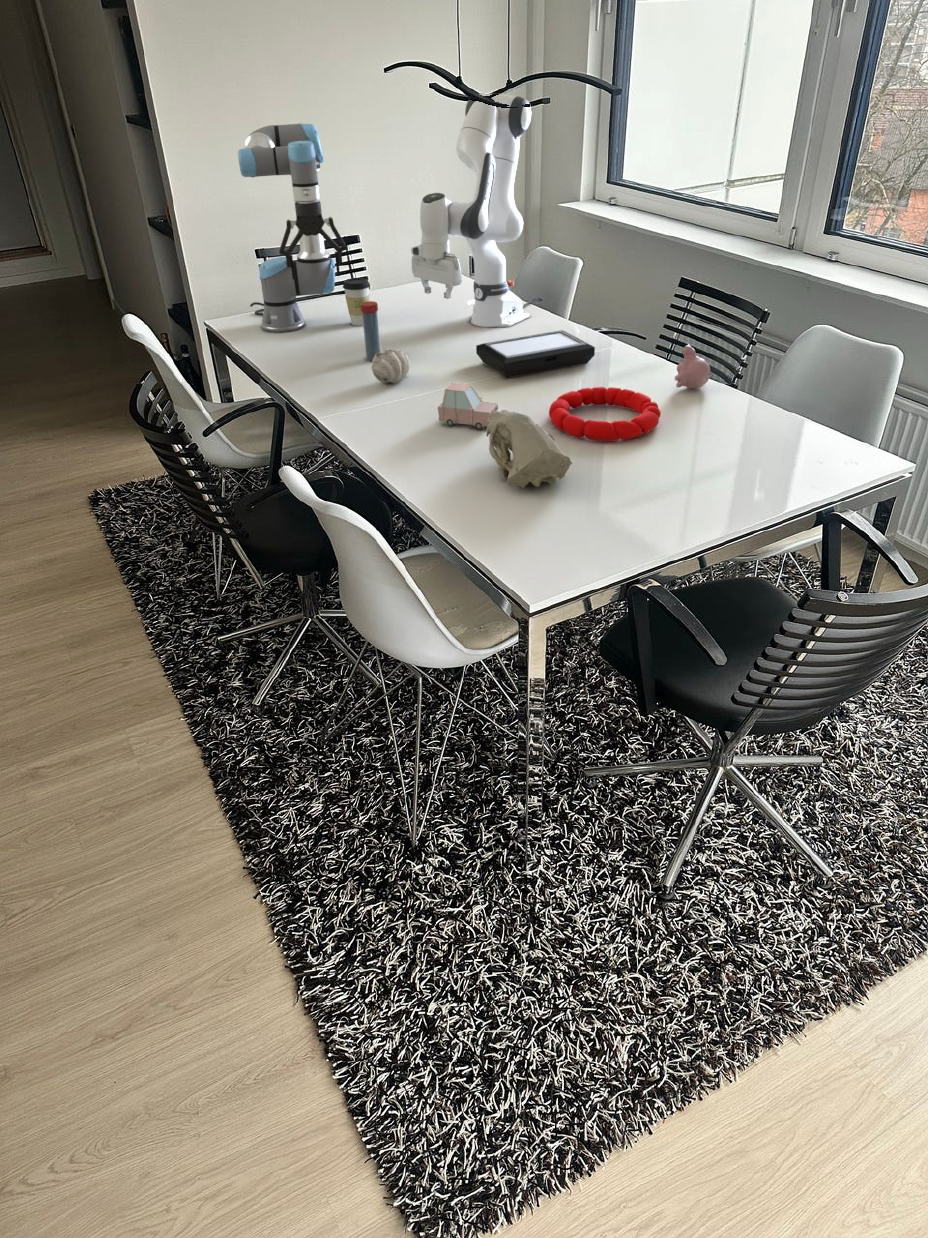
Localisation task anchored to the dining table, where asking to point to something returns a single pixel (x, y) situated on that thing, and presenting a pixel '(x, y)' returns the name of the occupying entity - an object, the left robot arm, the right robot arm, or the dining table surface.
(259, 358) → the dining table surface
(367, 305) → the lid
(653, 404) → the decorative ring
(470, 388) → the toy car
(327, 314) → the dining table surface
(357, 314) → the coffee cup
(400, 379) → the seashell
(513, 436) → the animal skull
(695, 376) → the figurine
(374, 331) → the jar
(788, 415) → the dining table surface
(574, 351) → the electronic device
